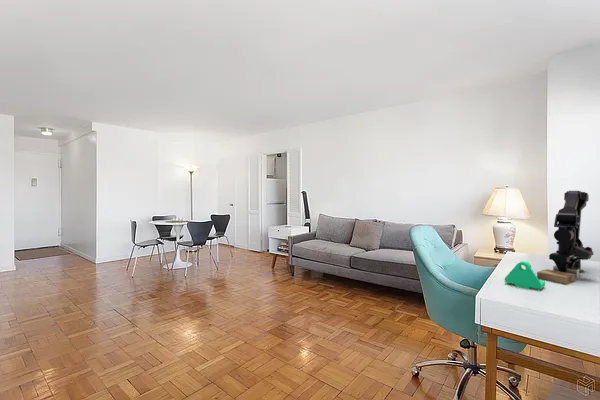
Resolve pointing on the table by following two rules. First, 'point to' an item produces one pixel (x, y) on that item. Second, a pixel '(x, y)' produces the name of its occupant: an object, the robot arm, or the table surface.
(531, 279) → the camera mount
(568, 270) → the block
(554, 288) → the table surface
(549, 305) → the table surface
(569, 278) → the stand
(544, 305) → the table surface
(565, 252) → the robot arm
